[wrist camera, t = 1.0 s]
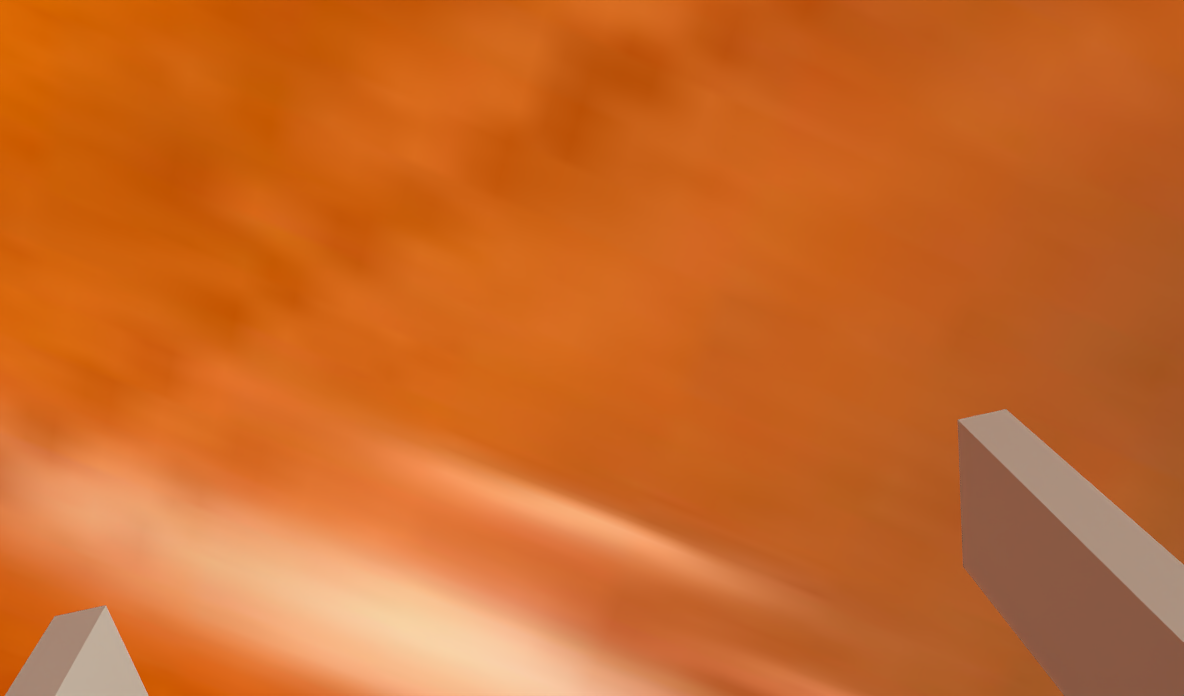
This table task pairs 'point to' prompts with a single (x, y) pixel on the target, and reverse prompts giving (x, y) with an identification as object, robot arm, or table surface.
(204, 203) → the table surface
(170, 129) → the table surface
